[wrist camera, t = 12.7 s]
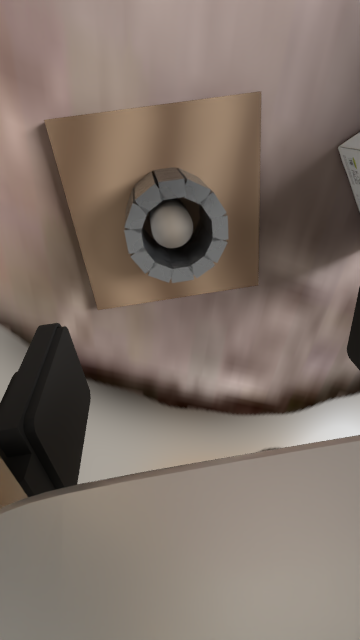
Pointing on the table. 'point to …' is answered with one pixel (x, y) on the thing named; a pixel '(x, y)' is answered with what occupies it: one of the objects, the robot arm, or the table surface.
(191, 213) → the shaft base
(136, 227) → the grey hollow cylinder
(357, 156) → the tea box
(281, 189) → the table surface
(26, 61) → the table surface
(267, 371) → the table surface
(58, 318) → the table surface
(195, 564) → the robot arm
